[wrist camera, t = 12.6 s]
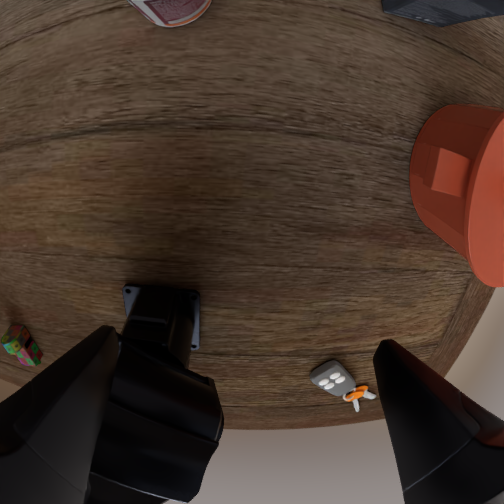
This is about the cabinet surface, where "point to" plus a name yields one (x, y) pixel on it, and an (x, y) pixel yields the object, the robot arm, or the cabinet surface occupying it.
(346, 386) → the key chain
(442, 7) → the box
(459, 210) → the pot
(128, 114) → the cabinet surface
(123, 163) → the cabinet surface
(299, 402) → the cabinet surface
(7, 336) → the block
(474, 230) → the lid
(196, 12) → the pill bottle
